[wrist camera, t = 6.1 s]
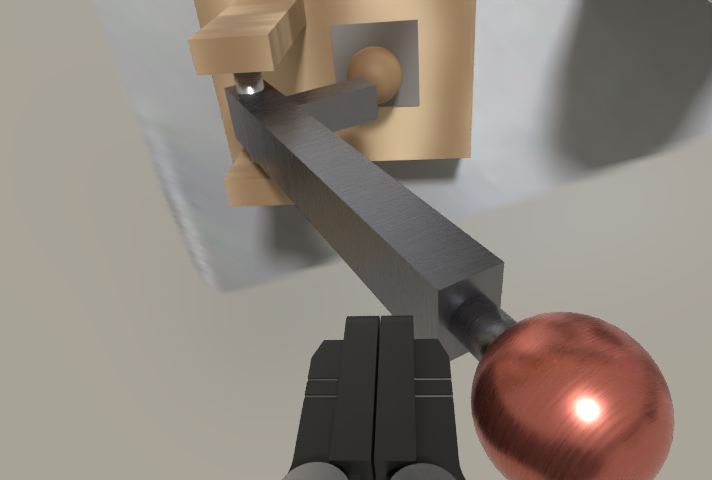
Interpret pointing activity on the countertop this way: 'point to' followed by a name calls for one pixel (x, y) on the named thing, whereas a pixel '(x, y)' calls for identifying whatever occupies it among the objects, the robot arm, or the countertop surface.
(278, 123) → the lever
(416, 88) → the cracker base
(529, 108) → the countertop surface
